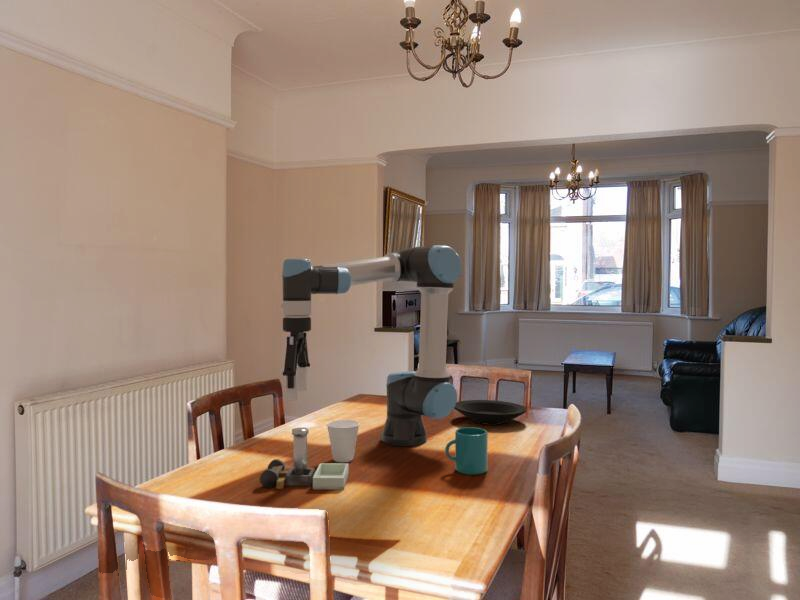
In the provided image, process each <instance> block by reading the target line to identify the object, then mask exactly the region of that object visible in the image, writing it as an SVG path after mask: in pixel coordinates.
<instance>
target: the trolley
mask: <svg viewBox="0 0 800 600" xmlns="http://www.w3.org/2000/svg"><path fill="white" fill-rule="evenodd" d="M285 467H286V465H285V463H284V462H283V461H282V460H281V459H279V458H274V459H273V460H271V461H270V462H269V464H268V465H267V469H265V470H263V472H262V473H261V474H260V476H259V483H260V484H261V485H262V486H263V487H264V488H272V487H274V486H275V485H276V489H280V490H281V489H284V487H285V486H301V487H302V486H306V487H308V486H312V485H313V476H314V474H315V472H316V470H315V469H316V468H315V467H307V475H294V467H290V468H289V470H285V469H286V468H285Z"/></svg>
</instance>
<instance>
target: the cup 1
mask: <svg viewBox="0 0 800 600" xmlns="http://www.w3.org/2000/svg"><path fill="white" fill-rule="evenodd" d="M325 425H326V426H327V431H328V438H329V442H330V443H329V444H330V449H331V454H332V455H331V457H332V460H333V461H334V463H343V464H346V463H350V462H352V461H353V460H354V457H355V453H356V446H357V445H356V443H357V437H358V433H359V427H360V421H357V420H352V419H336V420H335V419H334V420H331V421H328V422H327V423H326V424H325Z"/></svg>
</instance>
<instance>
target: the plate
mask: <svg viewBox="0 0 800 600" xmlns="http://www.w3.org/2000/svg"><path fill="white" fill-rule="evenodd" d="M453 410H455V411H457V412H458V413H460V414H462V416H464V417H467V418H468V419H470V420H472V421H474V422H475V423H478V424H482V425H493V426H494V425H500V424H502V423H506V422H508V421H511V420H514V419H516V418H517V419H518V417H520V416H522V415H524V414H526V413H527V408H526V407H525V406H524V405H522V404H519V403H513V402H510V401H502V400H494V399H493V400H492V399H490V400H489V399H469V400H461V401H456V405H455V407H454V409H453Z"/></svg>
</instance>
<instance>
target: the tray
mask: <svg viewBox="0 0 800 600" xmlns="http://www.w3.org/2000/svg"><path fill="white" fill-rule="evenodd" d="M349 468H350V467H349V463H340V462H333V463H330V462H329V463H327V462H326V463H323V462H321V463H319V464H318V466H317V469H316V470H315V474H314V476H313V482H312V490H338V491H339V490H341V491H342V490H344V489H345V486H346V484H347V480H348V478H349V473H350V471H349Z"/></svg>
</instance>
